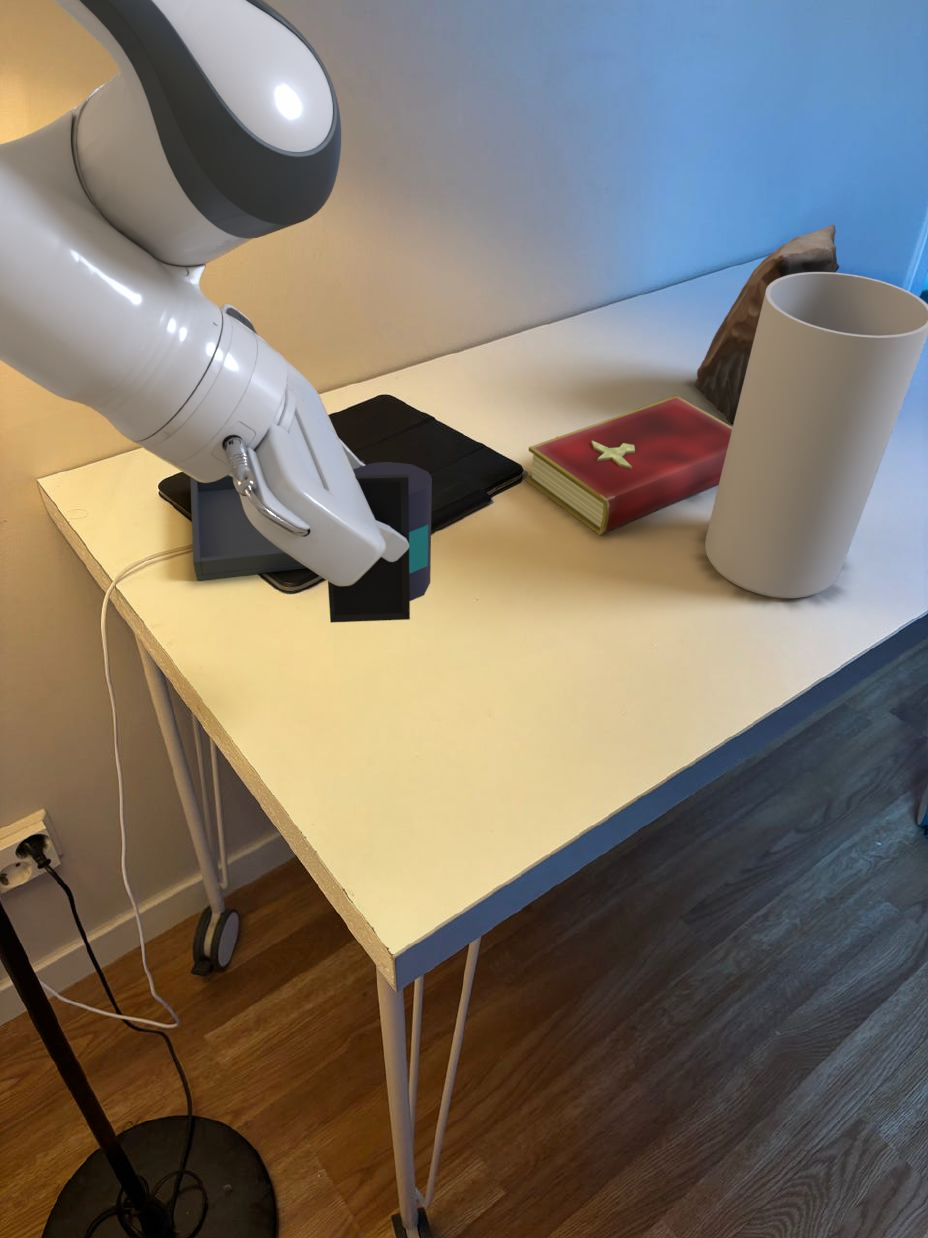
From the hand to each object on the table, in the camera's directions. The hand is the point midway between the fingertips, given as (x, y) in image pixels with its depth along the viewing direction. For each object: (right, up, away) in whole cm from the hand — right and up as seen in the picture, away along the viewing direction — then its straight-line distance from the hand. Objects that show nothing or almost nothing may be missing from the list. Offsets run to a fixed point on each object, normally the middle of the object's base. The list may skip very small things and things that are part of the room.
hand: (385, 516), depth 63 cm
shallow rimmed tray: (-12, +2, +28) cm, 31 cm away
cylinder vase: (+34, -1, +27) cm, 43 cm away
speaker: (-1, -5, +3) cm, 6 cm away
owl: (+39, +19, +51) cm, 67 cm away
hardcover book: (+24, +8, +37) cm, 45 cm away
